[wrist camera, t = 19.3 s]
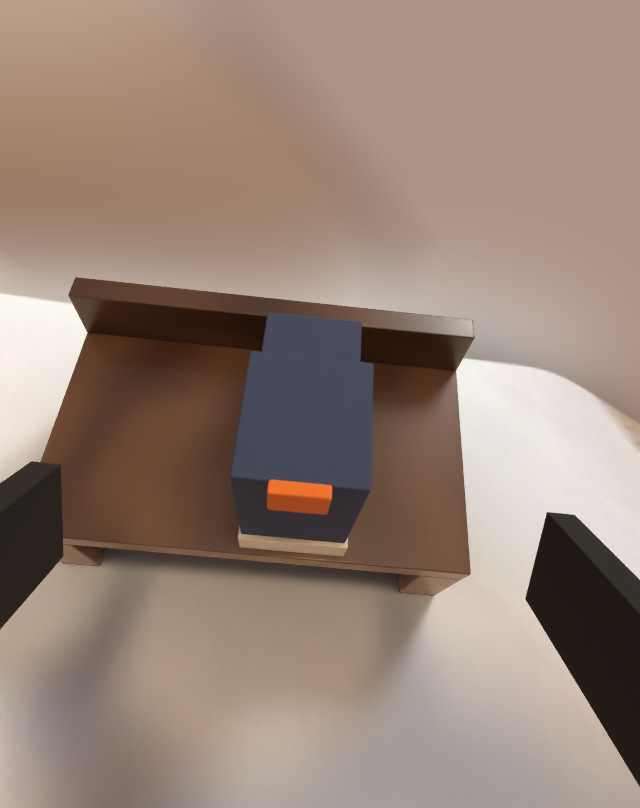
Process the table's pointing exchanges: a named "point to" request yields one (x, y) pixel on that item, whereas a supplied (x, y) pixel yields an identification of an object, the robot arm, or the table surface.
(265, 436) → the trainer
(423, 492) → the shoe shelf
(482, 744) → the table surface
